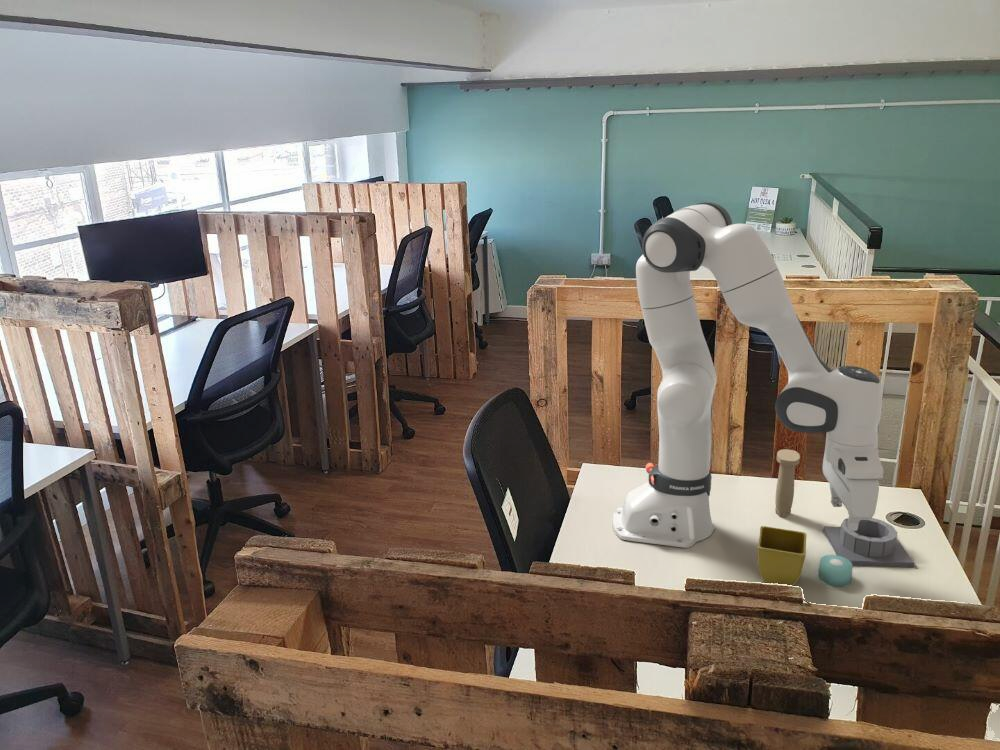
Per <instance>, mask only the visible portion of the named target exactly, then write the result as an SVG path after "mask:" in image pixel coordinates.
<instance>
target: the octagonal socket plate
mask: <svg viewBox="0 0 1000 750" xmlns="http://www.w3.org/2000/svg"><path fill="white" fill-rule="evenodd" d="M846 519H848V517H847V518H844V519H843V521H842V522H841V524H840V526H830V525H829V526H828V525H826V526H825V525H824V526H823V527H822V531H823V533H824V536H825V537H826V538H827V540H828V542H829V543H830V546H831V548H832V549H833V551H834V553H835V555H837V556H841V557H844V558H846V559H848V560H849V561H850V562H851V563H852V564H853V566H871V567H872V566H874V567H900V568H901V567H902V568H904V567H906V568H908V567H909V568H915V565H916V563H915V561H914V559H913V558H912V557H911V555H910V554H909V553H908V552H907V550H906V549H905V547H904V546H903V545H902V543H901V542H900V540H899V539H898V538H897V537H898V531H897V530H896V528H894V526H893V525H891V524H889V523H887V522H886V521H885V520H881V519H878V518H875V517H872V518H871V519H861V520H860V522H859V524H858V530H857V531H849V530H848V529H847V527H846Z"/></svg>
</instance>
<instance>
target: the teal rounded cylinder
mask: <svg viewBox="0 0 1000 750" xmlns="http://www.w3.org/2000/svg"><path fill="white" fill-rule="evenodd" d="M853 567H854V565H853V564H852V563H851V562H850V561H849V560H848V559H846V558H844V557H841V556H837V555H836V554H826V555H823V556H821V557H820V559H819V566H818V575H817V576H818V579H819V580H820V581H821V582H823V583H824V584H826V585H827V586H832V587H836V588H838V587H839V588H841V587H842V588H843V587H847V586H849V585H850V584H851V582H852V574H853Z"/></svg>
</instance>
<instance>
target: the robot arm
mask: <svg viewBox="0 0 1000 750" xmlns="http://www.w3.org/2000/svg"><path fill="white" fill-rule="evenodd" d="M641 251H642V254H641V256H640V257H639V258H638V259H637V262H636V265H635V277H636V288H637V289H636V290H637V294H638V301H639V305H640V309H641V312H642V313H641V314H642V318H643V321H644V325H645V329H646V334H647V338H648V341H649V344H650V345H651V347H652V348H653V350H654V353H655V355H656V358H657V359H658V362H659V366H660V368H661V373H662V375H661V376H662V379H661V382H660V384H659V386H658V388H657V392H656V393H657V394H656V395H657V396H656V398H657V399H656V400H657V406H656V407H657V423H658V435H659V438H658V441H659V442H658V464H657V466H655V465H654V463H652V462H648V463H647V464H646V465H645V471H646V473H647V474H648V481H646V482H644V483H643V484H641V485H639V486H638V487H636V488H634V489H632V490H630V491H629V492H627V494H626V497H625V499H624V502H623V506H620V507H618V508H616V510H615V511H614V513H613V515H612V529H613V532H614V533H615V535H616V536H617V538H619V539H621V540H625V541H629V542H638V543H645V544H653V545H661V546H668V547H669V546H670V547H677V548H684V549H686V548H690V547H693V545H695V543H697V542H700V541H702V540H706V539H707V538H709V537H710V536H711V535H712V534H713V533H714V528H715V527H714V524H713V520H712V516H711V508H710V495H711V491H712V479H713V477H712V472H711V469H710V465H711V464H710V463H711V453H712V452H711V450H712V405H713V398H714V393H715V388H716V386H717V381H718V380H717V379H718V378H717V373H716V370H715V369H716V368H715V366H714V362H713V358H712V356H711V353H710V349H709V347H708V344H707V340H706V338H705V336H704V335H705V334H704V332H703V329H702V325H701V321H700V316H699V313H698V308H697V304H696V299H695V295H694V291H693V286H692V283H691V277H690V276H691V275H690V273H691V272H696V271H697V270H699V269H700V267H704V268H706V269H707V270H709V271H710V272H711V274H712V275H713V277H714V279H715V280H716V283H717V285H718V288H719V290H720V292H721V294H722V297H723V299H724V301H725V303H726V305H727V307H728V308H729V310H730V312H731V313H732V315H733V316H734V317H735V319H736V320H737V322H739V323H741V324H742V325H744V326H747V327H751V328H755V329H756V328H757V329H758V330H761V331H763V332H764V333H766V335H767V336H768V337H769V338H770V339H771V342H773V345H774V347H775V349H776V350H777V353H778V355H779V356H780V358H781V361H782V362H783V364H784V366H785V368H786V371H787V375H788V376H787V378H788V381H787V384H786V385H785V386H784V388H783V389H781V392H780V393H779V395H778V396H777V398H776V400H775V404H774V406H775V407H774V410H775V415H776V417H777V418H778V420H779V422H780V423H781V424H782V425H783V426H784V427H785V428H787V429H789V430H790V431H792V432H796V433H802V434H803V433H805V434H806V433H807V434H824V433H826V435H825V437H826V438H825V447H824V455H823V460H822V474H823V476H824V477H825V479H826V480H827V482H828V483H829V490H830V504H831V505H832V507H834V508H841V507H844V508H845V509H846V510H847V512H848V513H847V514H848V517H847V518H848V519H847V518H845V519H846V527H847V529H848V530H849V531H857V530H858V524H859V522H860V520H861V519H871V518H874V515H875V514H876V510H877V505H878V500H879V499H878V498H879V492H880V483H879V479H880V480H881V479H883V477H884V466H883V465H882V463H881V459H880V457H879V449H878V443H879V435H878V425H879V423H880V420H881V415H882V407H883V388H882V384H881V383H882V382H881V380H880V378H879V377H878V376H877V375H876V374H875V373H874V372H872V371H870V370H868V369H866V368H864V367H859V366H855V365H842V366H839V367H838V368H836V369H835V370H832V369H831V368H830V367H829V366H828V365H827V364H826V363H825V362H823V360H822V359H821V358H820V356H819V355H818V352H817V351H816V350H815V348H814V346H813V344H812V342H811V340H810V338H809V336H808V334H807V332H806V330H805V328H804V326H803V324H802V322H801V321H800V319H799V317H798V314H797V312H796V311H795V307H794V305H793V303H792V299H791V298H790V296H789V292H788V290H787V287H786V284H785V282H784V279H783V277H782V274H781V272H780V270H779V268H778V266H777V263H776V262H775V261H776V260H775V259H774V257H773V255H772V253H771V251H770V250H769V248H768V246H767V245H766V243H765V242H764V240H763V239H762V237H761V236H760V234H759V233H758V232H757V230H756V229H755V228H754V226H752V225H750V224H748V223H734V224H733V220H732V217H731V215H730V213H729V212H728V210H727V209H726V208H725V207H724V206H722V205H720V204H718V203H715V202H711V201H710V202H708V201H703V202H697V203H694V204H692V205H688V206H685V207H682V208H679V209H677V210H674V212H672V213H671V214H669V215H667V216H666V217H662V218H660V219H658V220H657V221H655V222H654V223H652V225H650V227H649V228H647V230H646V231H645V233H644V234H643V238H642V241H641Z"/></svg>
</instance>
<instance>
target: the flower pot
mask: <svg viewBox="0 0 1000 750" xmlns="http://www.w3.org/2000/svg"><path fill="white" fill-rule="evenodd" d="M759 530H760V531H759V536H758V537H759V538H758V543H757V566H758V571H759V574H760V577H761V578H762V580H763V582H764V583H767V584H771V583H778V584H787V585H793V586H794V585H795V584H796V583H797V582H798V580H799V579H800V577H801V574H802V571H803V567H804V563H805V560H806V555H807V533H806V532H805V531H797V530H791V529H786V528H785V529H784V528H779V527H773V526H772V527H771V526H767V525H766V526H763V525H762V526H760V528H759Z"/></svg>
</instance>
